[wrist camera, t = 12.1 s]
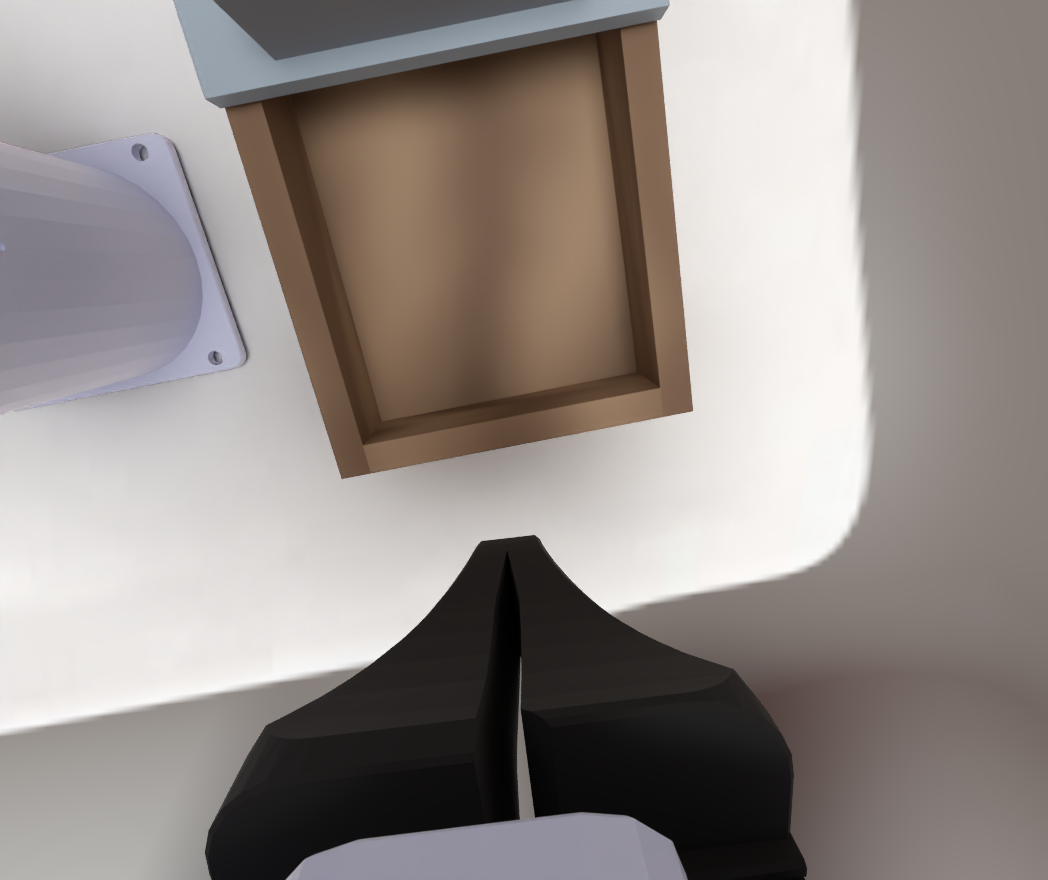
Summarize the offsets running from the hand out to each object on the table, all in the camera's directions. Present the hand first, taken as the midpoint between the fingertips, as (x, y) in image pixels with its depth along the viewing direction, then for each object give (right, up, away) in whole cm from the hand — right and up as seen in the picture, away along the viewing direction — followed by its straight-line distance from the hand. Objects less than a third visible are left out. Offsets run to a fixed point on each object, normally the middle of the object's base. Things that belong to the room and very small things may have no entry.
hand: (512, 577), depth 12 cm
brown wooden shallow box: (-2, +12, +7) cm, 14 cm away
